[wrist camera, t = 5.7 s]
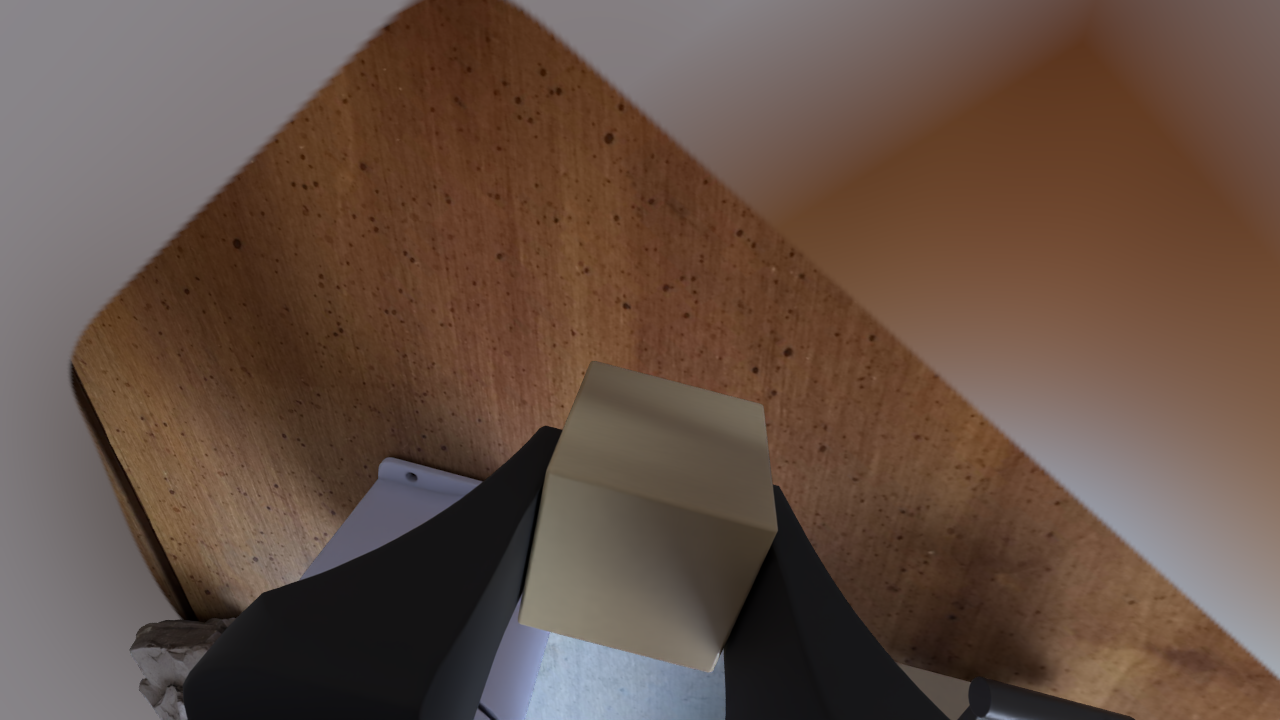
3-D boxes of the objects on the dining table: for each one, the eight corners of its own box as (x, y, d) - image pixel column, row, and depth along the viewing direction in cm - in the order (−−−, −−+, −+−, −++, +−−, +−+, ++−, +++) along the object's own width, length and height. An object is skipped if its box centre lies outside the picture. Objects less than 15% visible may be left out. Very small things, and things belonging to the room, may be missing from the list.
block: (562, 492, 15) (515, 625, 12) (591, 358, 13) (545, 469, 10) (714, 531, 15) (712, 676, 12) (764, 403, 13) (780, 530, 10)
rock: (123, 614, 35) (54, 675, 31) (253, 601, 33) (196, 665, 29) (242, 762, 40) (195, 829, 36) (361, 759, 38) (324, 830, 34)
